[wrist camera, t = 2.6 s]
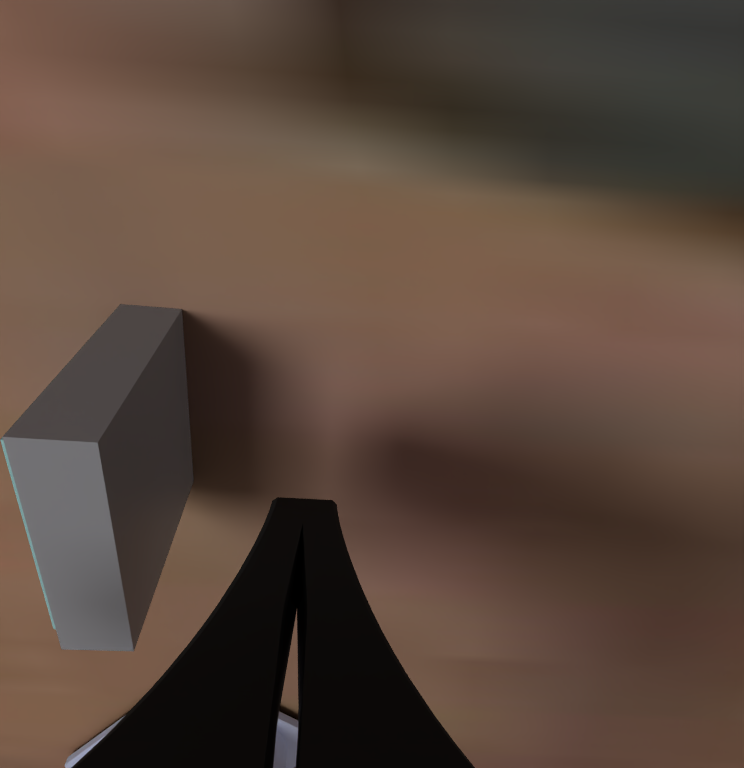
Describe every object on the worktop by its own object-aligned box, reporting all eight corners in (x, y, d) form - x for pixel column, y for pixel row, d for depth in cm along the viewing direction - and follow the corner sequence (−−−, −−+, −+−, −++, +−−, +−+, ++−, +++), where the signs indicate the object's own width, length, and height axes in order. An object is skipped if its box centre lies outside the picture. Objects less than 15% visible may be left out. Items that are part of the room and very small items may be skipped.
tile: (181, 309, 15) (97, 442, 10) (193, 480, 18) (133, 651, 13) (110, 303, 15) (-14, 435, 10) (134, 477, 18) (50, 648, 13)
